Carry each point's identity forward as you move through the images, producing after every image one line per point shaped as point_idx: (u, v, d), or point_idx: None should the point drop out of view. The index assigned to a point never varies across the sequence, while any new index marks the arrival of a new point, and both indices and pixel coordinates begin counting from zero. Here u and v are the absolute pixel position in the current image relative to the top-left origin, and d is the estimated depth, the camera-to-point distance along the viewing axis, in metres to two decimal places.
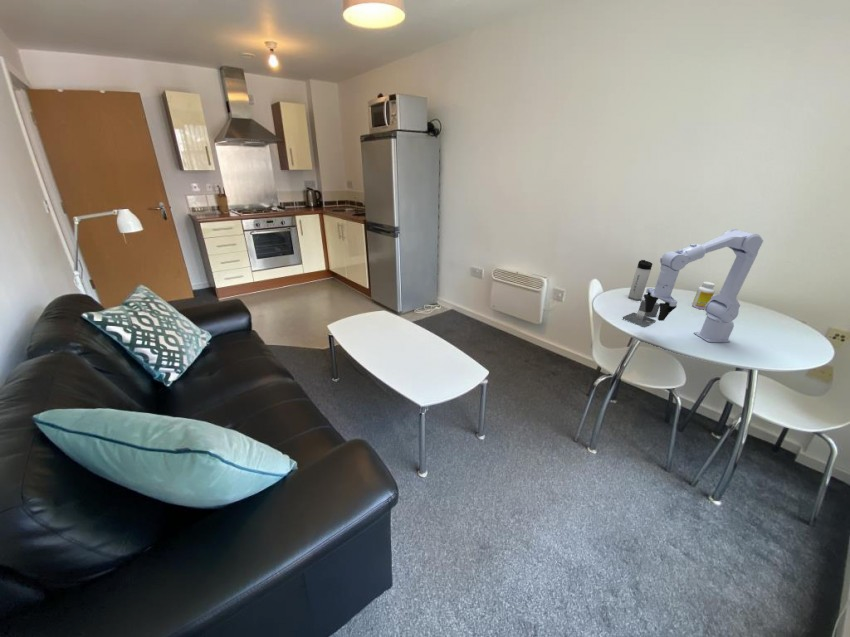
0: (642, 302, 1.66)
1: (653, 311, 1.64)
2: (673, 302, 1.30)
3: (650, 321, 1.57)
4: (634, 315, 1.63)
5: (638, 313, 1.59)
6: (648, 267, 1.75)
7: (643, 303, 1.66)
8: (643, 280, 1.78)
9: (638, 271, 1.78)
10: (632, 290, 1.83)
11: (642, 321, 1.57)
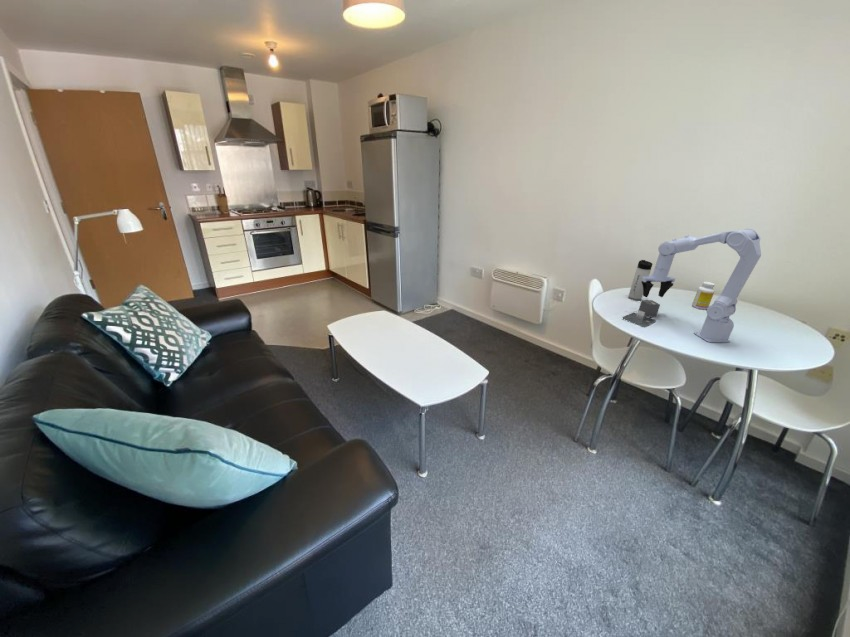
0: (642, 302, 1.66)
1: (653, 311, 1.64)
2: (643, 277, 1.59)
3: (650, 321, 1.57)
4: (634, 315, 1.63)
5: (638, 313, 1.59)
6: (648, 267, 1.75)
7: (643, 303, 1.66)
8: None
9: (638, 271, 1.78)
10: (632, 290, 1.83)
11: (642, 321, 1.57)
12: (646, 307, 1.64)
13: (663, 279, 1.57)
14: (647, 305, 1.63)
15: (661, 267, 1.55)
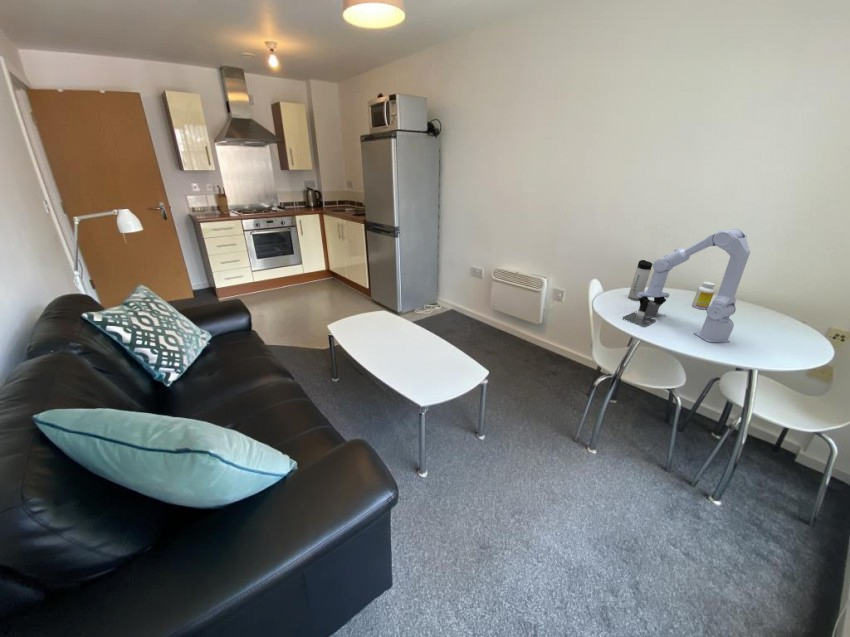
0: None
1: (653, 311, 1.64)
2: (638, 293, 1.63)
3: (650, 321, 1.57)
4: (634, 315, 1.63)
5: (638, 313, 1.59)
6: (648, 267, 1.75)
7: None
8: (643, 280, 1.78)
9: (638, 271, 1.78)
10: (632, 290, 1.83)
11: (642, 321, 1.57)
12: (646, 307, 1.64)
13: (658, 295, 1.60)
14: (647, 305, 1.63)
15: (656, 283, 1.59)
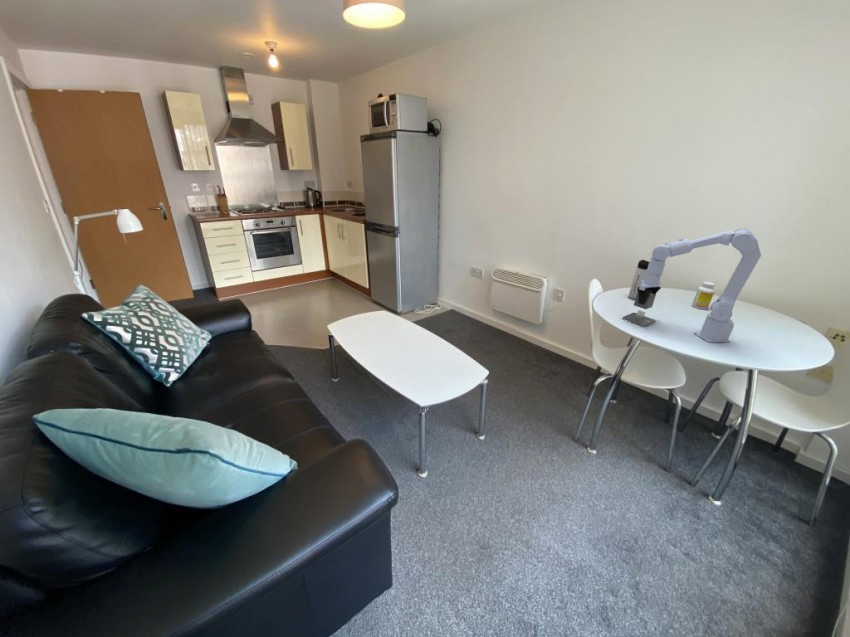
0: (638, 295, 1.55)
1: (651, 302, 1.54)
2: (641, 286, 1.49)
3: (650, 321, 1.57)
4: (634, 315, 1.63)
5: (638, 313, 1.59)
6: None
7: None
8: None
9: (638, 271, 1.78)
10: (632, 290, 1.83)
11: (642, 321, 1.57)
12: None
13: (657, 284, 1.50)
14: None
15: (656, 273, 1.48)
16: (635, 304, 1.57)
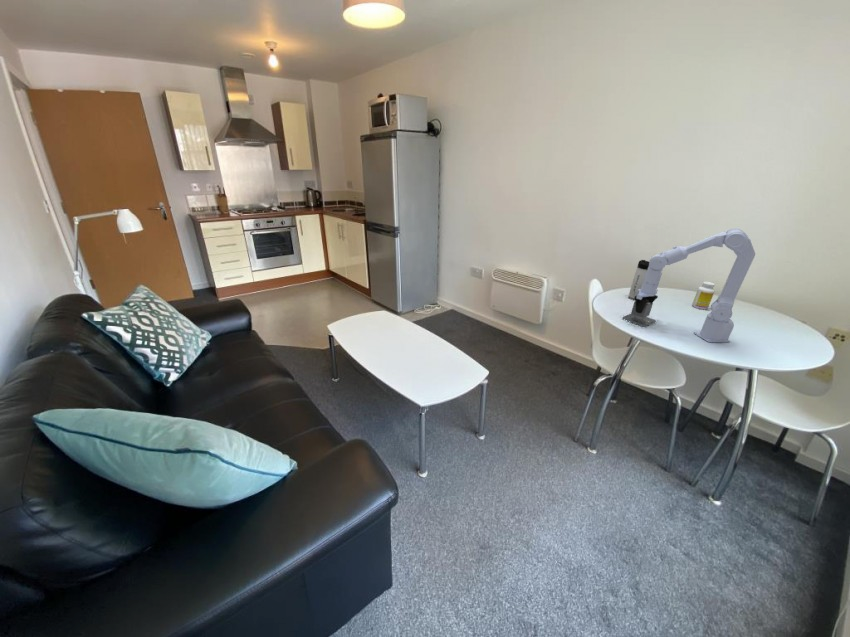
0: None
1: (648, 311, 1.56)
2: (638, 295, 1.51)
3: (650, 321, 1.57)
4: (634, 315, 1.63)
5: None
6: None
7: None
8: (643, 280, 1.78)
9: (638, 271, 1.78)
10: (632, 290, 1.83)
11: (642, 321, 1.57)
12: None
13: (654, 293, 1.52)
14: None
15: (653, 282, 1.49)
16: (632, 313, 1.59)
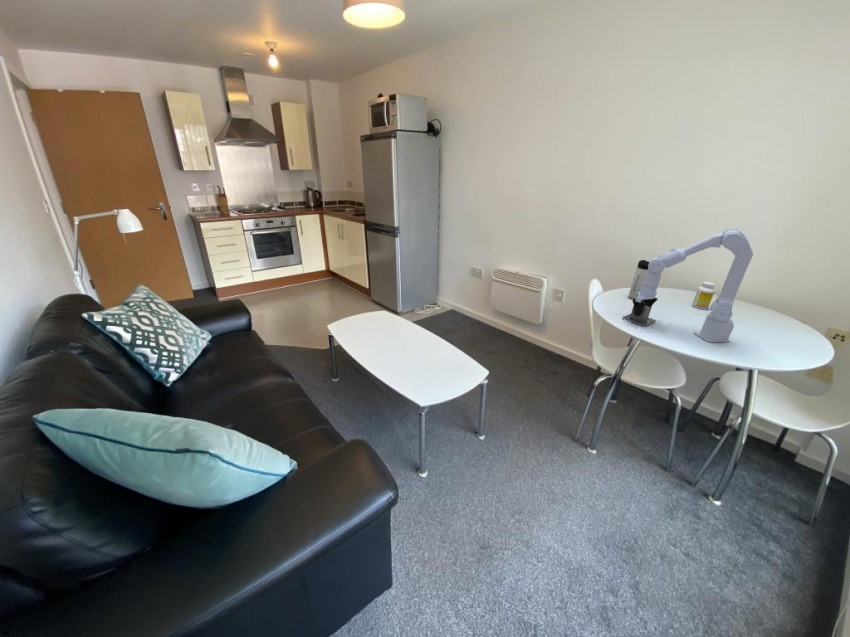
0: None
1: (647, 315, 1.57)
2: (637, 298, 1.51)
3: (650, 321, 1.57)
4: None
5: None
6: None
7: None
8: (643, 280, 1.78)
9: (638, 271, 1.78)
10: (632, 290, 1.83)
11: None
12: (642, 312, 1.55)
13: (653, 296, 1.53)
14: (643, 310, 1.55)
15: (652, 285, 1.50)
16: (631, 316, 1.60)
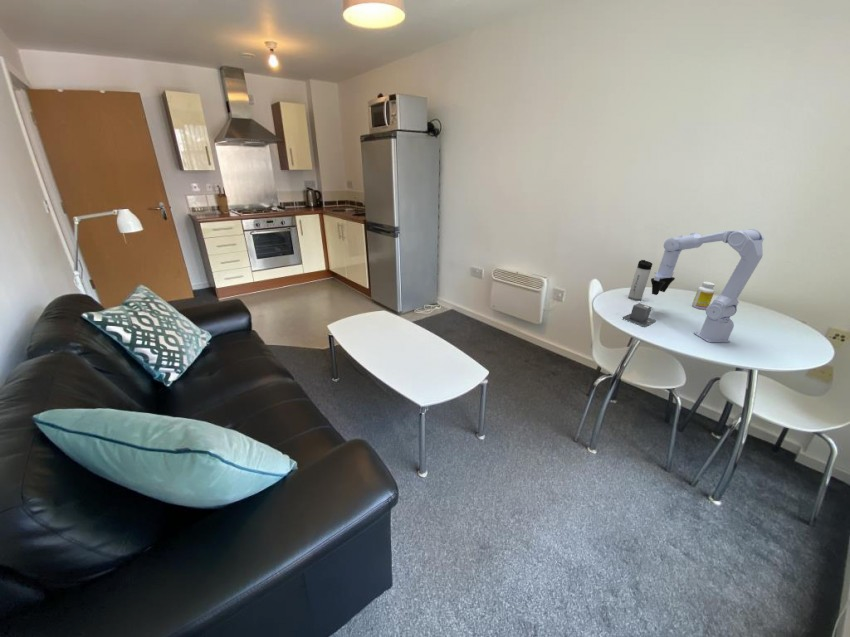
0: (635, 307, 1.57)
1: (647, 315, 1.57)
2: (655, 276, 1.57)
3: (650, 321, 1.57)
4: None
5: None
6: (648, 267, 1.75)
7: (636, 308, 1.57)
8: (643, 280, 1.78)
9: (638, 271, 1.78)
10: (632, 290, 1.83)
11: None
12: (642, 312, 1.55)
13: (671, 275, 1.58)
14: (643, 310, 1.55)
15: (666, 263, 1.56)
16: (631, 316, 1.60)
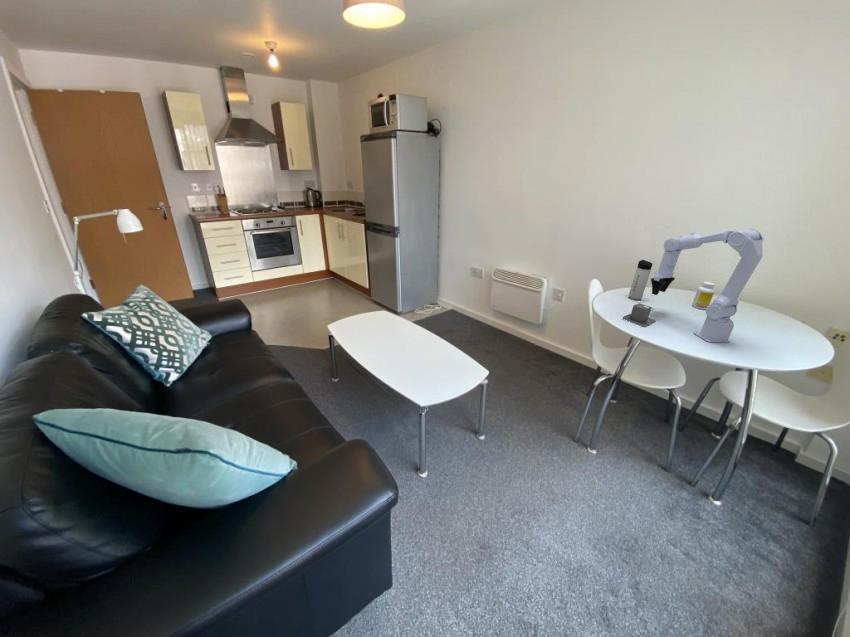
0: (635, 307, 1.57)
1: (647, 315, 1.57)
2: (655, 276, 1.57)
3: (650, 321, 1.57)
4: None
5: None
6: (648, 267, 1.75)
7: (636, 308, 1.57)
8: (643, 280, 1.78)
9: (638, 271, 1.78)
10: (632, 290, 1.83)
11: None
12: (642, 312, 1.55)
13: (671, 275, 1.58)
14: (643, 310, 1.55)
15: (666, 263, 1.56)
16: (631, 316, 1.60)
